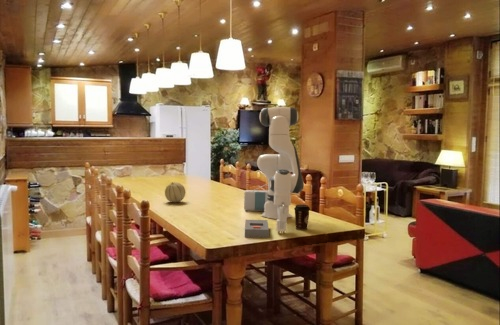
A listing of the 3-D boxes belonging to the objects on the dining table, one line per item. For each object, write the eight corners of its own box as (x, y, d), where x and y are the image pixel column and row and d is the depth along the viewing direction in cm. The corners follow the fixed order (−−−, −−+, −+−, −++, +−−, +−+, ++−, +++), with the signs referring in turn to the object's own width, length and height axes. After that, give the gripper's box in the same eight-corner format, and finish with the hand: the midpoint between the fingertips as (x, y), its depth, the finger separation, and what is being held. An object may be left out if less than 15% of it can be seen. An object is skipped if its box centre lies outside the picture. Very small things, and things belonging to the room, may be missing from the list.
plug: (276, 232, 217) (276, 219, 216) (285, 232, 217) (286, 219, 216) (276, 233, 213) (277, 220, 213) (286, 234, 213) (286, 220, 213)
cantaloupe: (188, 201, 303) (188, 181, 302) (180, 204, 289) (180, 183, 288) (170, 200, 307) (170, 180, 306) (161, 203, 293) (161, 182, 291)
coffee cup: (308, 227, 230) (308, 204, 229) (310, 230, 222) (311, 207, 221) (292, 226, 230) (293, 204, 229) (294, 230, 222) (295, 206, 221)
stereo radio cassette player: (244, 211, 271) (244, 181, 269) (244, 208, 279) (245, 179, 278) (275, 212, 271) (276, 182, 269) (275, 209, 279) (275, 180, 277)
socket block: (245, 226, 228) (245, 218, 228) (266, 227, 228) (267, 219, 228) (244, 237, 206) (244, 228, 206) (268, 237, 206) (268, 228, 206)
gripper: (290, 205, 203) (289, 232, 204) (286, 198, 224) (285, 223, 225) (277, 204, 203) (276, 232, 204) (275, 197, 224) (274, 222, 225)
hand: (281, 227), depth 215 cm, fingers closed on plug, 3 cm apart
